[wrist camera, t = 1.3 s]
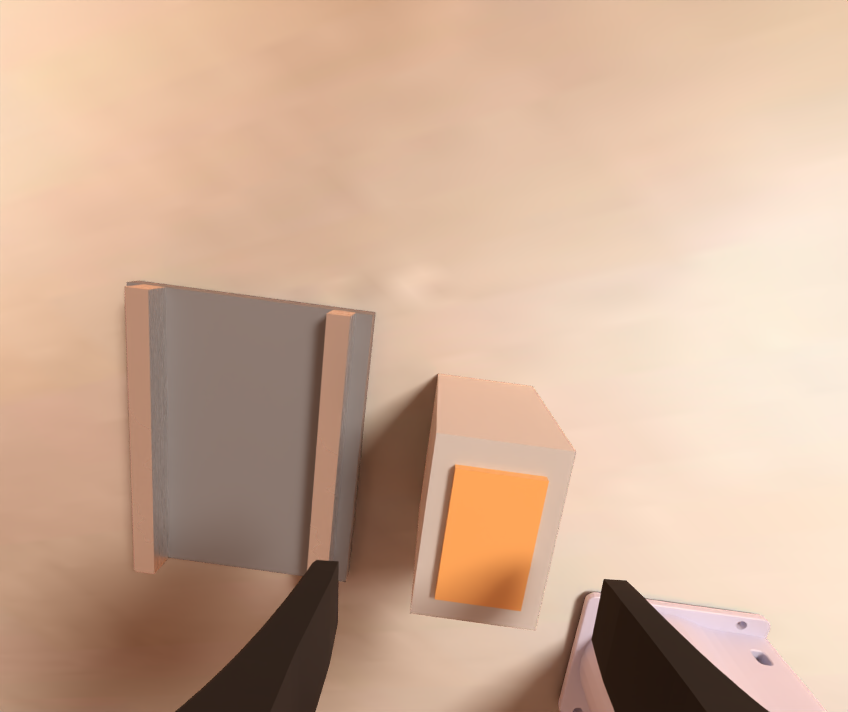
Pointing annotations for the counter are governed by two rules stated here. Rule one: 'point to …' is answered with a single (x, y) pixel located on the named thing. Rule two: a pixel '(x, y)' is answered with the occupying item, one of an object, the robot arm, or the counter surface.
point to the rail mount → (244, 427)
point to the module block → (489, 503)
